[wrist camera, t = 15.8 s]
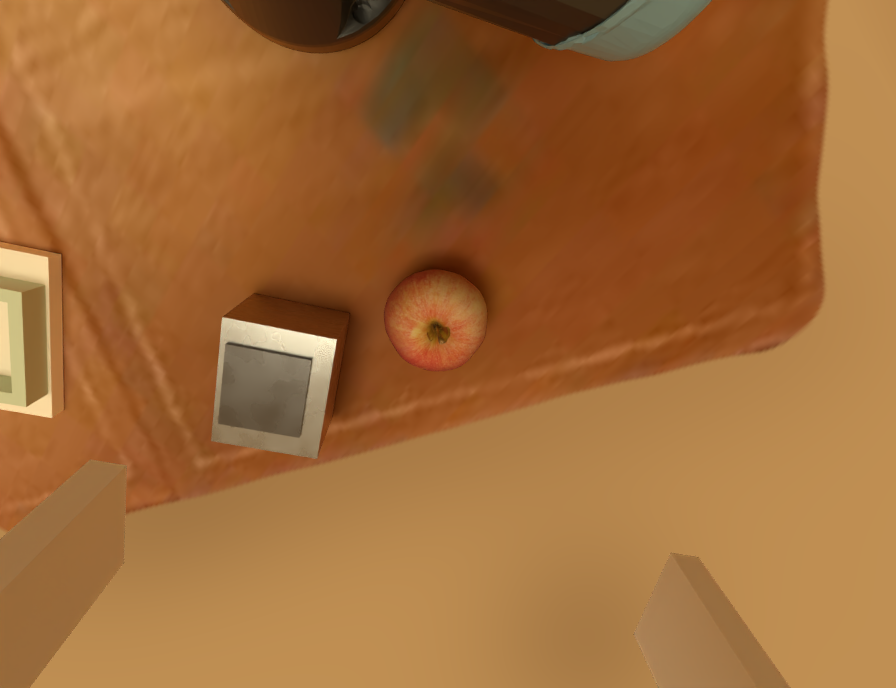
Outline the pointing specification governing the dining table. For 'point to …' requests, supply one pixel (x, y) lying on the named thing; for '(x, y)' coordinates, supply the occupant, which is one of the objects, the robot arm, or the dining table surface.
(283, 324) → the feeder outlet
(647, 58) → the dining table surface
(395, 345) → the apple
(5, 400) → the board
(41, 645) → the robot arm
